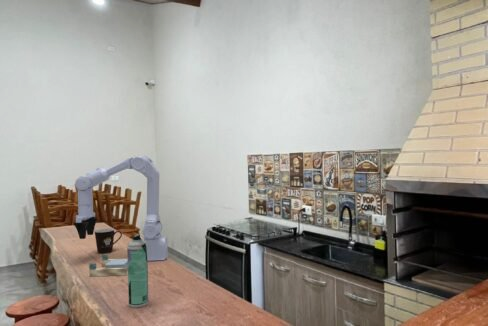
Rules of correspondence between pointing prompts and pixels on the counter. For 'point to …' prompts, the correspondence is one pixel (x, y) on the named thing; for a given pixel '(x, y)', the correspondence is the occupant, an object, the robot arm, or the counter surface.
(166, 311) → the counter surface
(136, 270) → the spray can
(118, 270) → the channel
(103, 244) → the coffee mug
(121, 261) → the block
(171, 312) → the counter surface
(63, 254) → the counter surface
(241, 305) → the counter surface
